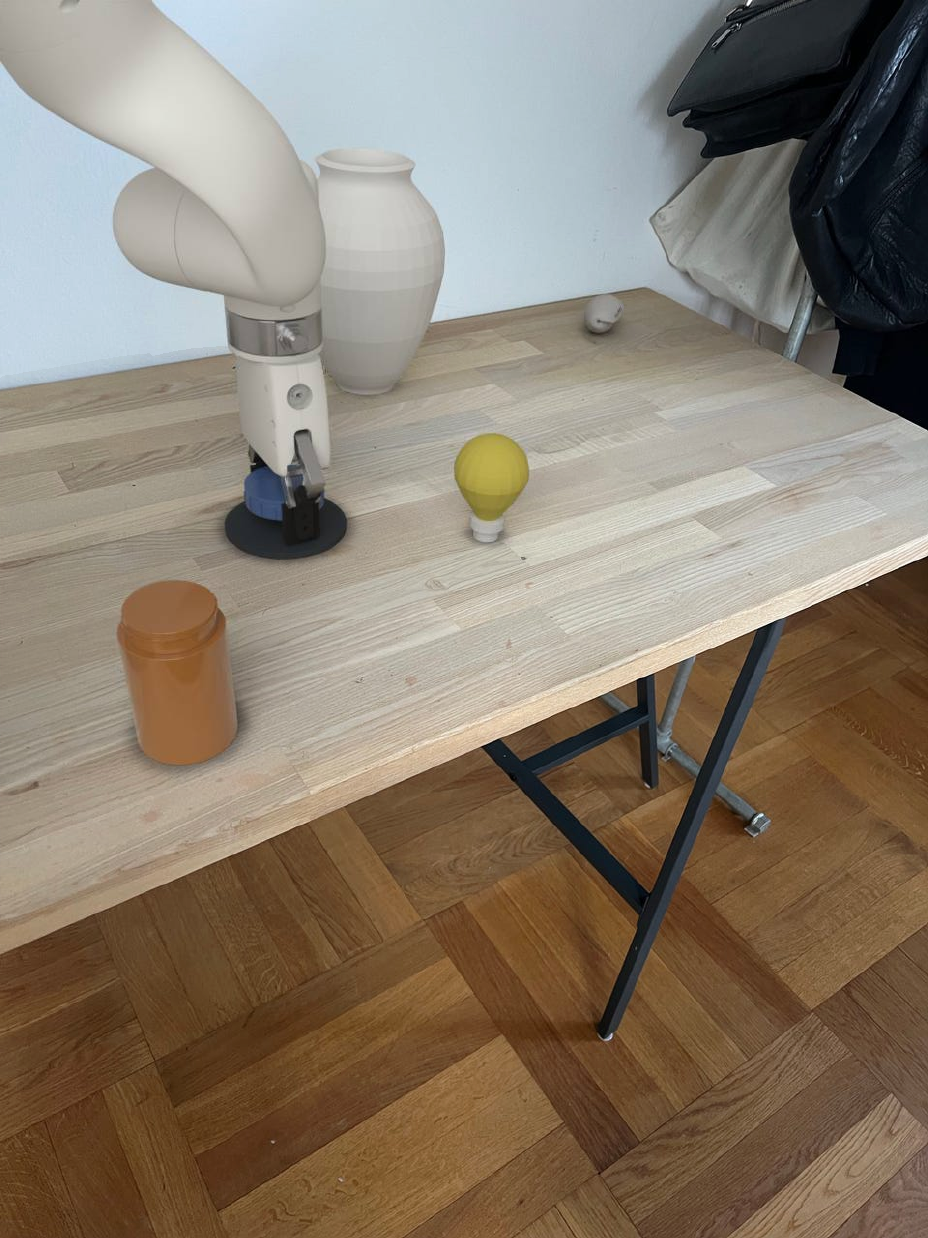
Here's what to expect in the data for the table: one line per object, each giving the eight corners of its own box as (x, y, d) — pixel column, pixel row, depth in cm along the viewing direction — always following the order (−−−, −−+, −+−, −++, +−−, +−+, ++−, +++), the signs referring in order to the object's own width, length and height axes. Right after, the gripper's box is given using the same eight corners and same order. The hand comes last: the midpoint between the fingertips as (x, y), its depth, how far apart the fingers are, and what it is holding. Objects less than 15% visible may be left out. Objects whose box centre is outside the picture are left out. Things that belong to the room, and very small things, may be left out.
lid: (306, 476, 87) (305, 458, 86) (336, 511, 83) (336, 492, 81) (234, 490, 84) (232, 472, 83) (261, 527, 80) (259, 508, 78)
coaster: (250, 571, 79) (249, 565, 79) (208, 511, 86) (208, 505, 86) (366, 542, 84) (366, 536, 84) (318, 487, 91) (317, 482, 91)
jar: (153, 778, 60) (128, 650, 53) (126, 715, 64) (100, 591, 58) (251, 745, 63) (239, 620, 56) (219, 687, 67) (204, 566, 61)
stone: (614, 346, 128) (620, 310, 125) (576, 340, 129) (581, 304, 126) (623, 324, 136) (629, 289, 133) (587, 318, 137) (592, 284, 134)
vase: (343, 426, 102) (339, 182, 87) (263, 372, 113) (248, 146, 98) (467, 393, 112) (484, 168, 97) (383, 346, 122) (386, 136, 107)
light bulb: (532, 528, 88) (544, 431, 82) (504, 562, 83) (515, 462, 77) (467, 510, 90) (475, 414, 84) (437, 542, 85) (443, 442, 79)
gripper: (364, 360, 70) (364, 558, 80) (278, 290, 81) (288, 471, 92) (270, 374, 66) (282, 579, 77) (194, 299, 78) (214, 486, 89)
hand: (285, 519), depth 85 cm, fingers closed on lid, 6 cm apart
